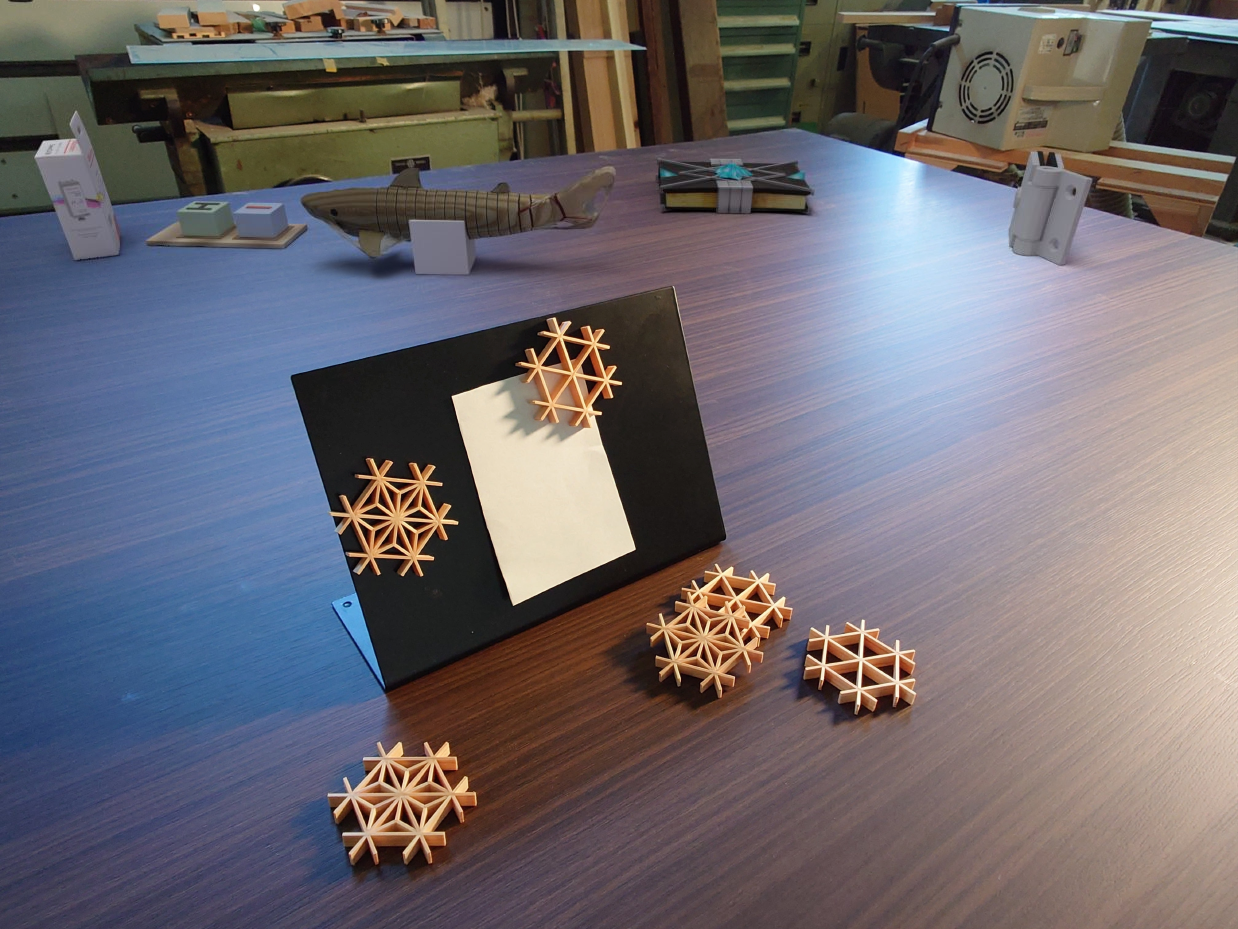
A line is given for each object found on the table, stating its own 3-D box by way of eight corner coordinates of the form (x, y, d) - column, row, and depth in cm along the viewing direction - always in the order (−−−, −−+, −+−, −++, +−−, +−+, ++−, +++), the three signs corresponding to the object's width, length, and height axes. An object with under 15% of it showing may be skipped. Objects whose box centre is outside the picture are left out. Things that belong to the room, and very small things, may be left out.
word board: (146, 245, 99) (144, 239, 98) (179, 225, 105) (177, 219, 105) (284, 248, 98) (282, 243, 98) (307, 228, 105) (306, 223, 104)
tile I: (239, 237, 99) (232, 211, 98) (254, 226, 103) (248, 201, 101) (275, 238, 99) (269, 212, 98) (289, 226, 103) (283, 202, 101)
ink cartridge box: (77, 239, 100) (30, 112, 92) (122, 234, 102) (80, 109, 94) (72, 261, 94) (21, 126, 85) (120, 255, 95) (75, 123, 87)
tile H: (183, 235, 100) (175, 210, 98) (200, 224, 103) (193, 200, 102) (219, 236, 99) (212, 211, 98) (235, 225, 103) (228, 200, 101)
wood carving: (615, 280, 91) (616, 178, 84) (302, 277, 90) (280, 174, 84) (615, 253, 98) (616, 157, 92) (325, 250, 98) (307, 154, 91)
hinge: (1066, 266, 96) (1094, 179, 91) (1018, 263, 97) (1043, 177, 91) (1034, 229, 108) (1057, 150, 102) (992, 227, 108) (1013, 149, 103)
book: (794, 183, 126) (798, 150, 123) (813, 216, 112) (818, 178, 109) (655, 181, 126) (656, 147, 123) (656, 213, 112) (658, 176, 109)
